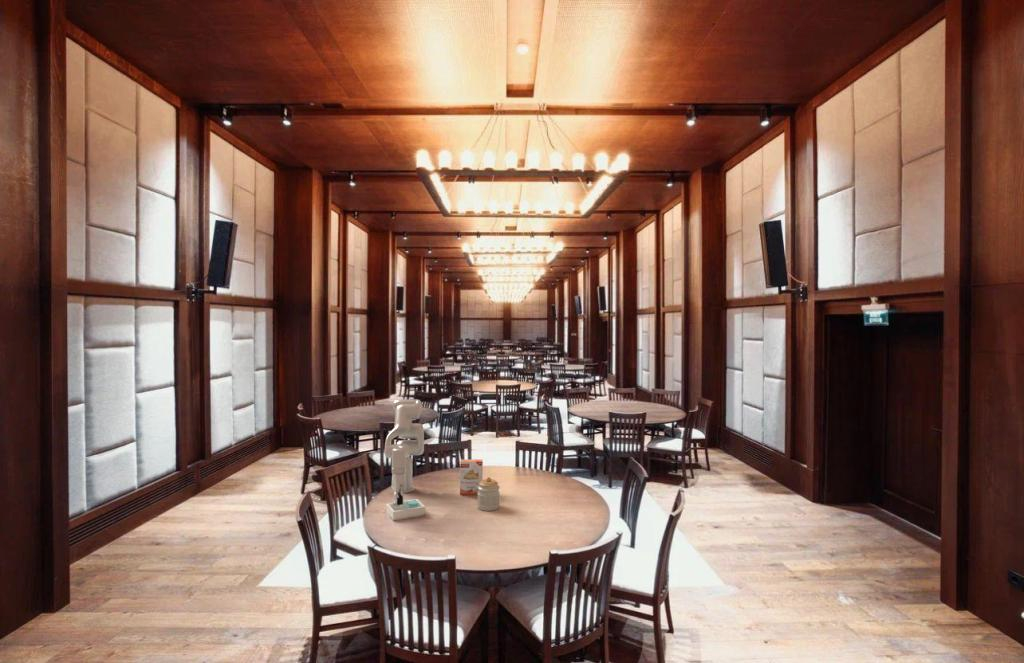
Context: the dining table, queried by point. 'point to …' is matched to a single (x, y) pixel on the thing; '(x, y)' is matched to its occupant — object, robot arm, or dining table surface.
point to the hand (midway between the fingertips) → (398, 502)
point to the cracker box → (470, 476)
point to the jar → (488, 495)
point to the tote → (404, 511)
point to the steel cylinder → (396, 499)
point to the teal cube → (412, 504)
